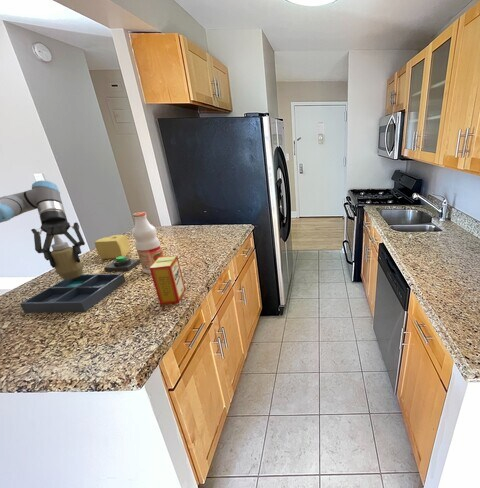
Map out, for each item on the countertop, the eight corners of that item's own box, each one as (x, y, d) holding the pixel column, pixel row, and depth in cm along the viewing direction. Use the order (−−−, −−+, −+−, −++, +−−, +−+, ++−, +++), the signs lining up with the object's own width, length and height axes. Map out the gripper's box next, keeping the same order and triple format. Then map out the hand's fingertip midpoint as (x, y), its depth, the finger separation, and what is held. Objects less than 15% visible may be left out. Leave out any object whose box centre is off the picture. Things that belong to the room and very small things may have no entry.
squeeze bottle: (81, 270, 111) (65, 230, 105) (89, 274, 108) (73, 234, 101) (56, 278, 105) (37, 236, 98) (63, 283, 101) (44, 240, 94)
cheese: (111, 251, 144) (105, 235, 141) (132, 250, 146) (127, 233, 142) (99, 259, 135) (93, 242, 131) (122, 258, 137) (116, 240, 133)
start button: (115, 262, 124) (113, 259, 123) (120, 259, 127) (119, 255, 127) (122, 262, 124) (121, 258, 123) (127, 259, 127) (126, 255, 127)
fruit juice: (146, 267, 127) (130, 211, 117) (168, 263, 130) (154, 209, 120) (141, 275, 119) (123, 216, 108) (164, 272, 122) (148, 214, 111)
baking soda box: (179, 302, 99) (169, 265, 93) (160, 304, 98) (149, 267, 92) (185, 289, 108) (177, 254, 102) (168, 291, 106) (158, 256, 100)
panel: (105, 271, 123) (102, 264, 121) (118, 263, 131) (116, 256, 130) (128, 271, 123) (126, 263, 121) (140, 263, 131) (138, 255, 130)
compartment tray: (24, 312, 94) (19, 303, 92) (76, 282, 114) (72, 274, 112) (85, 311, 94) (81, 302, 93) (126, 281, 114) (123, 273, 113)
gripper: (86, 215, 115) (99, 260, 110) (22, 224, 103) (34, 275, 98) (81, 205, 109) (96, 252, 104) (13, 214, 98) (25, 267, 92)
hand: (65, 263), depth 101 cm, fingers closed on squeeze bottle, 6 cm apart
